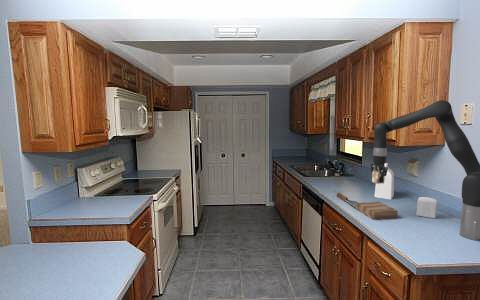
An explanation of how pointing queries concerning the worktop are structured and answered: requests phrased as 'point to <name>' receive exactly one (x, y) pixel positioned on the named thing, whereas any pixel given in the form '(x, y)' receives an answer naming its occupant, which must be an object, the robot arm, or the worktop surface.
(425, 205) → the photo printer
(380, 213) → the walnut base
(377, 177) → the beech block
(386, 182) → the milk
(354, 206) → the meat cleaver
